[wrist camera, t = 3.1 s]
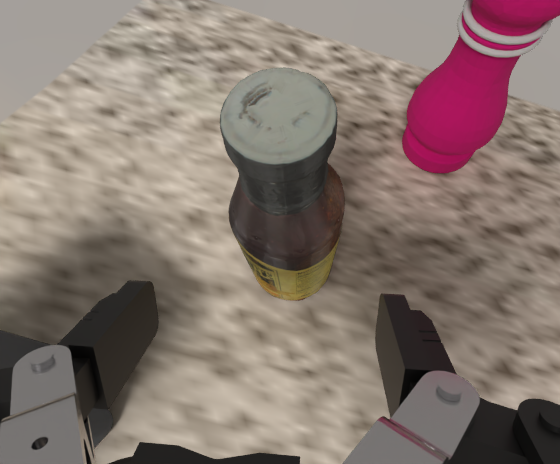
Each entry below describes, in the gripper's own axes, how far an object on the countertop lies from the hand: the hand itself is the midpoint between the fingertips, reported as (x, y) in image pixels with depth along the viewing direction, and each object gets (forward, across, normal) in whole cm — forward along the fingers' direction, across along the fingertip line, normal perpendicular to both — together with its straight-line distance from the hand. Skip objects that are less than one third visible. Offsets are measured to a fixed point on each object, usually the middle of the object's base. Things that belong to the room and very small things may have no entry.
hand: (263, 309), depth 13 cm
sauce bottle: (+16, 0, +7) cm, 18 cm away
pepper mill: (+25, -13, -2) cm, 28 cm away
